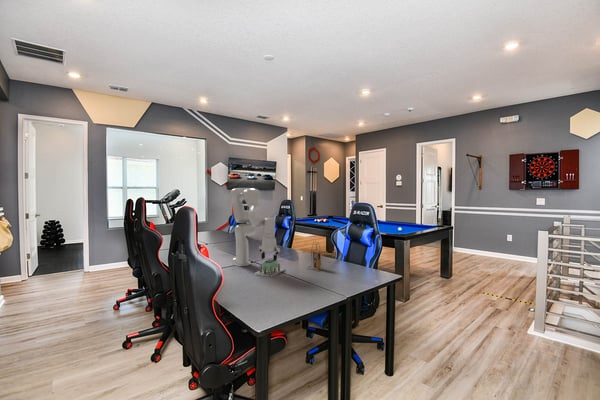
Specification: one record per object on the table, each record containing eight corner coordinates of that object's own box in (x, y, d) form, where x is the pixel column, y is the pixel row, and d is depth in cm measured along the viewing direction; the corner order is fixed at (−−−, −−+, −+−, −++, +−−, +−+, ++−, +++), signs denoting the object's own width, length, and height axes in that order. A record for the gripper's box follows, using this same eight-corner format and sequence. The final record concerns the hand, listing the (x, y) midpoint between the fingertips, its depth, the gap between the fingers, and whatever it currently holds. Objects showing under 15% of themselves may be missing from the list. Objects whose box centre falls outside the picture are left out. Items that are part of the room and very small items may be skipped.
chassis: (271, 277, 193) (271, 268, 193) (254, 274, 199) (254, 266, 199) (284, 270, 209) (284, 262, 209) (268, 268, 215) (268, 260, 215)
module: (270, 270, 197) (269, 262, 197) (262, 270, 199) (262, 261, 199) (277, 266, 208) (277, 258, 208) (270, 265, 210) (270, 258, 210)
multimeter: (302, 267, 216) (301, 241, 216) (313, 266, 221) (313, 240, 220) (311, 272, 203) (310, 244, 202) (323, 270, 207) (323, 243, 207)
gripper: (256, 235, 204) (255, 259, 205) (277, 237, 196) (277, 262, 197) (261, 233, 211) (261, 256, 212) (282, 235, 203) (282, 260, 204)
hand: (269, 259), depth 204 cm, fingers open, 9 cm apart
